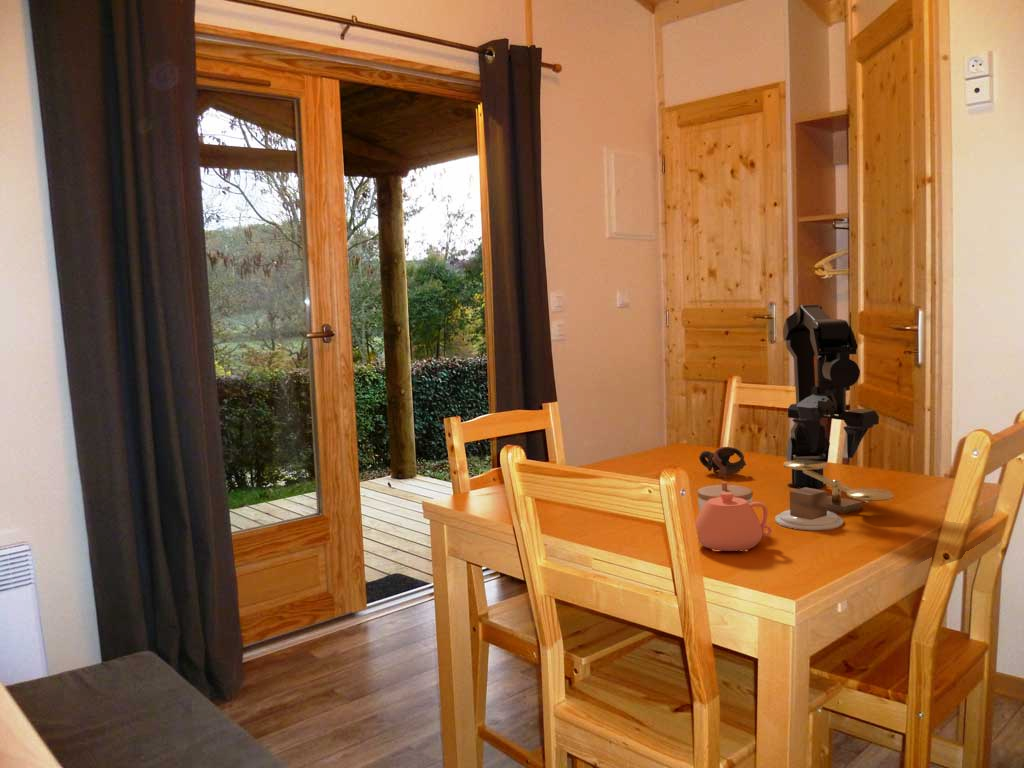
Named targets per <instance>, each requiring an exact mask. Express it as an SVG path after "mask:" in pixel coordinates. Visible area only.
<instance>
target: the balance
mask: <svg viewBox="0 0 1024 768" xmlns="http://www.w3.org/2000/svg"><path fill="white" fill-rule="evenodd" d="M783 467H784V468H786V469H788V470H789V469H790V470H792V469H795V470H802V471H803V473H805V474H807V475H809V476H811V477H814V478H816V479H818V480H820V481H822V482H823V483H825V484H826V485H829V486H831V495H827V511H830V512H833V513H838V512H840V513H839V514H843V513H845V514H848V513H847V512H849V513H851V511H852V512H855V511H854V510H856V511H858V510H857V509H859V510H862V509H863V502H865V503H868V504H869V503H871V502H883V501H889V500H892V499H894V498H895V493H893V491H890V490H886V489H879V488H867V487H866V488H865V487H863V488H854V489H852V488H851V487H849V486H847V485H844V484H842V482H841V480H839V479H838V478H837V479H831V478H829V477H828V476H825V475H824V474H823V475H820V474H818V473H816V472H814V471H812V470H818V469H823V470H824V469H826V468H827V462H822V461H816V460H792V461H788V460H787V461H784V462H783ZM842 492H844V493H846V496H847V498H844V497H842ZM849 498H850V499H849ZM861 508H862V509H861Z"/></svg>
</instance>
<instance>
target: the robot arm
mask: <svg viewBox="0 0 1024 768" xmlns="http://www.w3.org/2000/svg"><path fill="white" fill-rule="evenodd" d="M782 337H783V341H785V346H786V349H787V351H788V353H789V354H790V355H791V356H792V358H793V363H794V365H793V366H794V367H793V368H794V383H795V384H794V385H795V403H793V404H790V405H789V406H788V409H787V418H791V419H792V421H793V423H794V424H793V425H792V428H791V429H790V437H789V438H788V441H787V445H786V449H785V457H786V460H787V461H792V460H816V461H822V462H825V463H827V462H828V461H829V450H830V446H831V442H830V441H829V438H828V436H827V435H826V428H825V426H824V425H823V424H821V420H822V418H825V419H832V420H840V421H844V423H845V424H846V426H843V427H842V428H843V429H844V431H845V433H846V436H847V437H846V440H847V441H846V443H847V445H846V449H847V450H846V452H847V458H848V459H853V458H854V456H855V454H856V452H857V450H858V448H859V446H860V444H861V442H862V440H863V438H864V436H865V435H866V433H867V432H868V430H869V429H873V428H874V425H879V423H880V421H879V420H880V419H879V417H880V416H879V414H878V412H877V411H876V410H874V409H866V408H858V409H853V410H851V404H847V391H851V387H852V386H853V385H855V384H856V383H857V382H858V380H859V379H860V377H861V370H860V367H859V365H858V364H857V362H855V361H854V360H852V359H851V358H850V355H851V356H852V355H857V352H858V351H857V350H858V347H859V346H858V343H857V339H856V336H855V333H854V330H853V329H852V326H851V325H850V324H849V323H848V321H847V320H845V319H839V318H832V317H831V316H830V315H829V314H827V313H826V312H825V311H824V310H823V308H822V306H821V305H818V304H804V305H803V304H800V306H797V308H796V310H795V312H793V313H792V314H790V315H789V316H788V317H787V318H786V319H785V322H784V325H783V329H782ZM815 356H816V368H815ZM815 369H816V372H815ZM815 374H816V375H815ZM812 471H814V472H816V473H818V474H820V475H823V476H824V468H823V469H818V470H812ZM787 486H788V487H792V488H796V489H801V488H805V487H807V488H812V489H818V488H823V487H827V484H826V483H824V482H822V481H820V480H818V479H816V478H814V477H811V476H809V475H807V474H805V473H803V471H802V470H795V469H791V482H789V483H787Z"/></svg>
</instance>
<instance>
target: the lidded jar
mask: <svg viewBox="0 0 1024 768" xmlns="http://www.w3.org/2000/svg"><path fill="white" fill-rule="evenodd" d="M723 492H731V493H734V496H733V497H737V498H742V499H745V500H746V501H747V502H748V503H749V504H750V503H752V502H753V496H754V495H753V490H752V489H751V488H749V487H746V486H743V485H737V484H736V485H735V484H728V482H727V481H722V482H721V484H715V485H714V484H712V485H706V486H703V487H700V488H699V489H698V490H697V492H696V493H697V501H698V503H697V504H698V509H699V512H700V511H701V510H702V508H703V506H704V505H705V503H706V502H707V501H708V500H709V499H712V498H717V497H721V496H720V493H723Z"/></svg>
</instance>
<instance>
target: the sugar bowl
mask: <svg viewBox="0 0 1024 768" xmlns="http://www.w3.org/2000/svg"><path fill="white" fill-rule="evenodd" d="M720 496H721V497H717V498H712V499H709V500H708V501H707V502H706V503H705V505H704V506H703V508H702V510H701V511H700V510H699V512H698V513H699V514H698V515H697V518H696V519H695V520H696V521H695V524H694V526H695V525H696V529H697V534H698V539H699V541H698V542H699V543H700V544H701V545H702V546H703V547H704V548H707V549H710V550H712V549H714V550H722V552H723V551H724V552H725V551H726V552H732V551H733V552H734V551H735V552H736V551H738V550H742V551H745V550H749V549H752V548H754V547H756V546H757V544H758V543H759V542H760V541H761V539H762V537H767V536H769V535H771V534H772V532H773V531H772V527H771V526H770V525H768V524H766V523H767V520H768V516H769V515H768V514H769V511H768V507H767V506H766V505H765V504H764V503H763V502H760V501H752V503H750V504H749V503H748V502H747V501H746V500H745V499H742V498H737V497H733V496H734V493H731V492H723V493H720ZM755 507H760V508H762V511H763V512H762V517H761V521H760V519H759V516H758V515H757V513H756V512H755V510H754V508H755ZM765 529H767V530H766V531H765ZM738 552H739V551H738Z"/></svg>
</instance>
